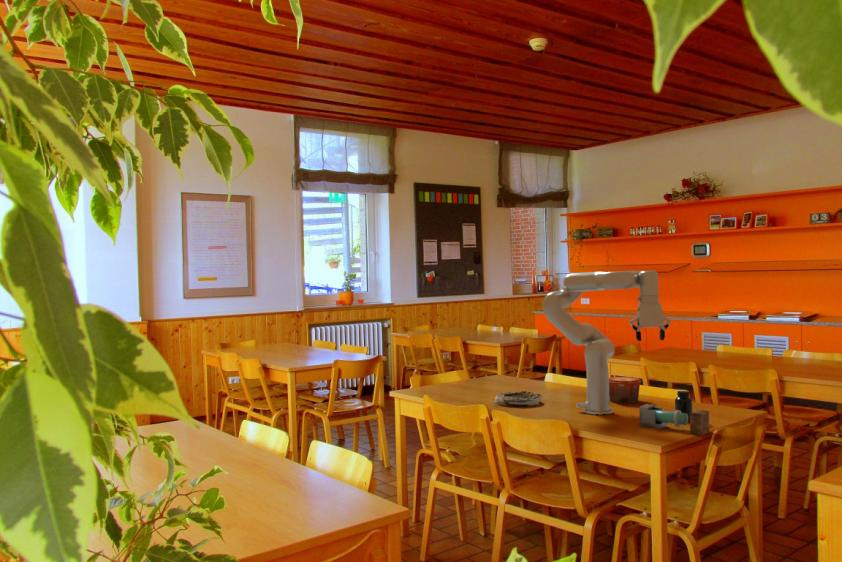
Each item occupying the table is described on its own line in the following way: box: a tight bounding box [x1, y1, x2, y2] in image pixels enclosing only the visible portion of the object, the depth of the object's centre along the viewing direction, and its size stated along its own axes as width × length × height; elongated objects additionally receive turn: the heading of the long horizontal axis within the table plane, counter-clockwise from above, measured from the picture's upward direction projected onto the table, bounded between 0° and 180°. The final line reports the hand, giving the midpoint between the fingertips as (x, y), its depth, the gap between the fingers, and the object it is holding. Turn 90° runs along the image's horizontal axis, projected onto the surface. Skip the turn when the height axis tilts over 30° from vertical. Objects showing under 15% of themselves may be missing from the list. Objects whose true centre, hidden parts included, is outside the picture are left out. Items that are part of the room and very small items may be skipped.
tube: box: [649, 409, 689, 428], centre depth 281 cm, size 16×6×6 cm, turn 49°
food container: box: [609, 376, 642, 404], centre depth 338 cm, size 16×16×11 cm
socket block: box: [689, 409, 710, 436], centre depth 272 cm, size 4×8×8 cm, turn 139°
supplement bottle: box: [674, 390, 694, 422], centre depth 295 cm, size 7×7×12 cm
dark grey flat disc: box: [492, 390, 543, 409], centre depth 339 cm, size 28×27×5 cm
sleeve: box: [638, 403, 668, 430], centre depth 284 cm, size 8×7×8 cm
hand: (650, 340), depth 301 cm, fingers open, 9 cm apart
